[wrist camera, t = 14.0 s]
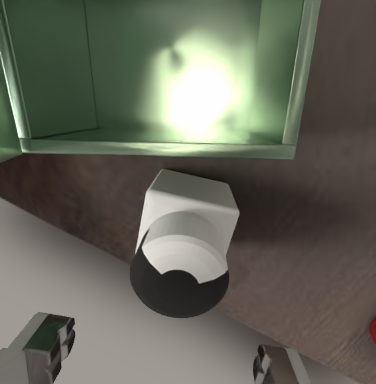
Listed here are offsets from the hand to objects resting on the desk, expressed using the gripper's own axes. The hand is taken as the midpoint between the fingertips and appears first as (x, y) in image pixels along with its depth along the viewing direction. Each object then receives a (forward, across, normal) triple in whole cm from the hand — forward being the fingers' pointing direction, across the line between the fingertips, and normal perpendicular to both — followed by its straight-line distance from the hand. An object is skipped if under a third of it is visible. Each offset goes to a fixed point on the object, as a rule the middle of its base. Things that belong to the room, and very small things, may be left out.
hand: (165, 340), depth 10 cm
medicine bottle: (+15, 0, 0) cm, 16 cm away
